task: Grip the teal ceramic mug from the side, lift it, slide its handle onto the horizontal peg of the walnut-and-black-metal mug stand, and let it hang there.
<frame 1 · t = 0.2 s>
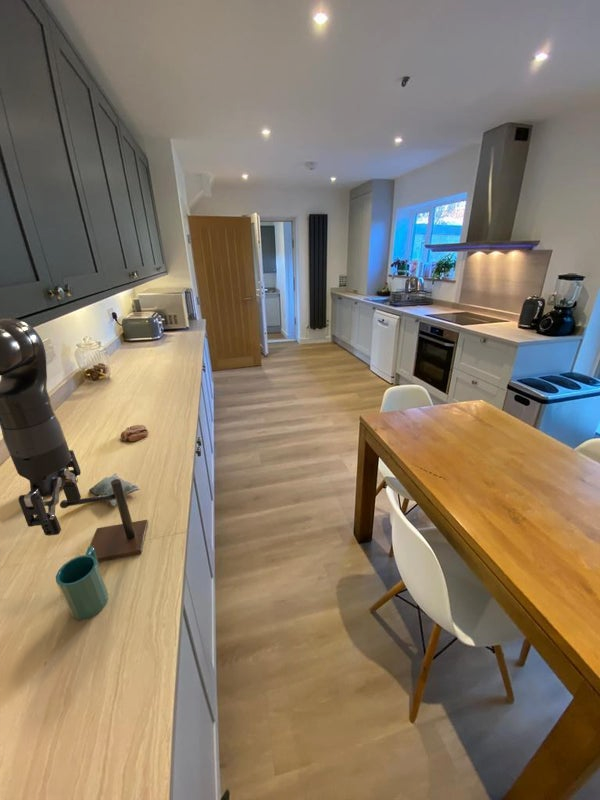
hand: (65, 516, 61), 20 cm above the countertop, tool pointing down, fingers open, 8 cm apart
mug stand: (132, 539, 81), on the countertop
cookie: (135, 435, 127), on the countertop
disposable coffee cup: (54, 494, 96), on the countertop
mug: (90, 603, 66), on the countertop
grey bean bag: (116, 495, 96), on the countertop
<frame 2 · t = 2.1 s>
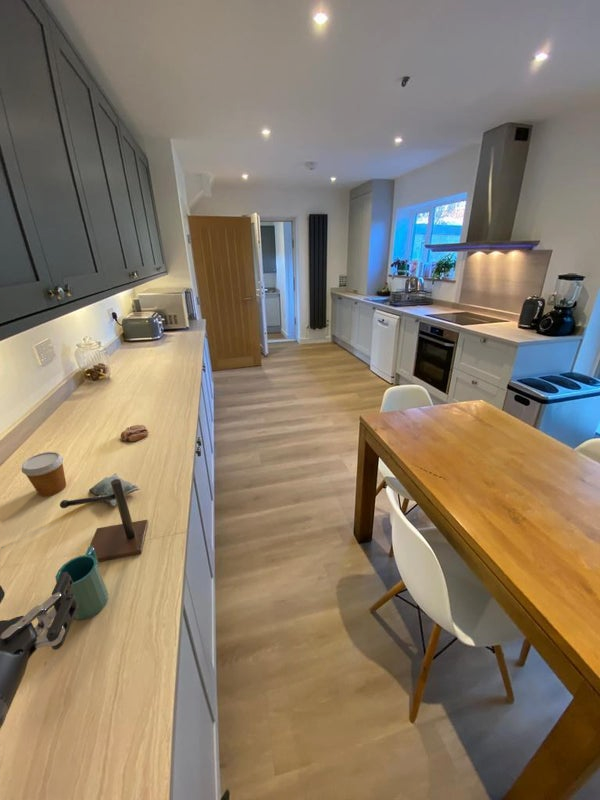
hand: (33, 582, 48), 20 cm above the countertop, tool horizontal, fingers open, 8 cm apart
nothing on the countertop moved.
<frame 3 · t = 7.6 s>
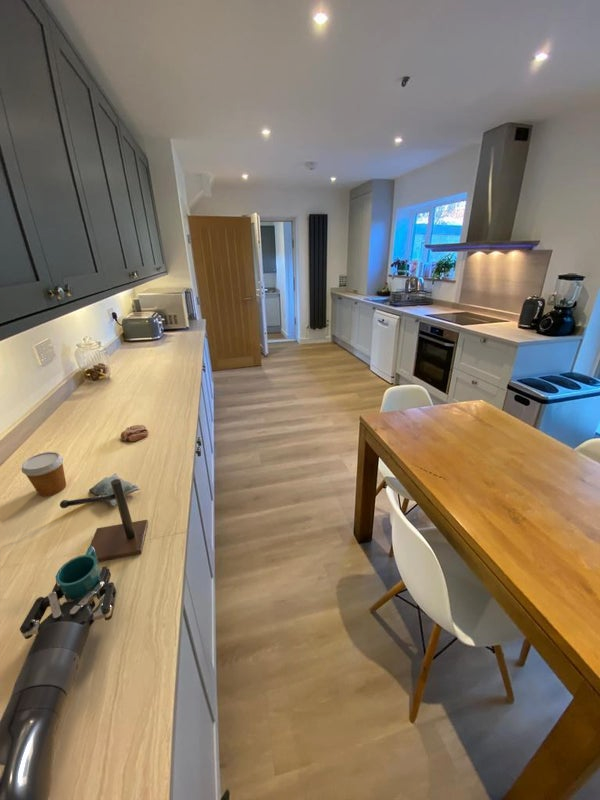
hand: (86, 573, 65), 6 cm above the countertop, tool horizontal, fingers closed on mug, 6 cm apart
mug: (90, 603, 66), on the countertop, touching gripper
everything else where it was.
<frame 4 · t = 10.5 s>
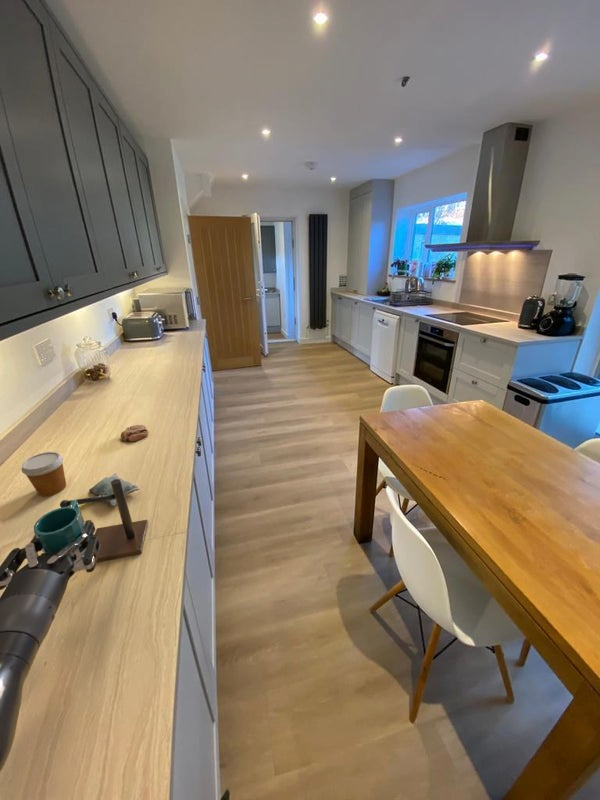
hand: (68, 527, 60), 18 cm above the countertop, tool horizontal, fingers closed on mug, 6 cm apart
mug: (72, 560, 61), point 12 cm above the countertop, touching gripper
everything else where it was.
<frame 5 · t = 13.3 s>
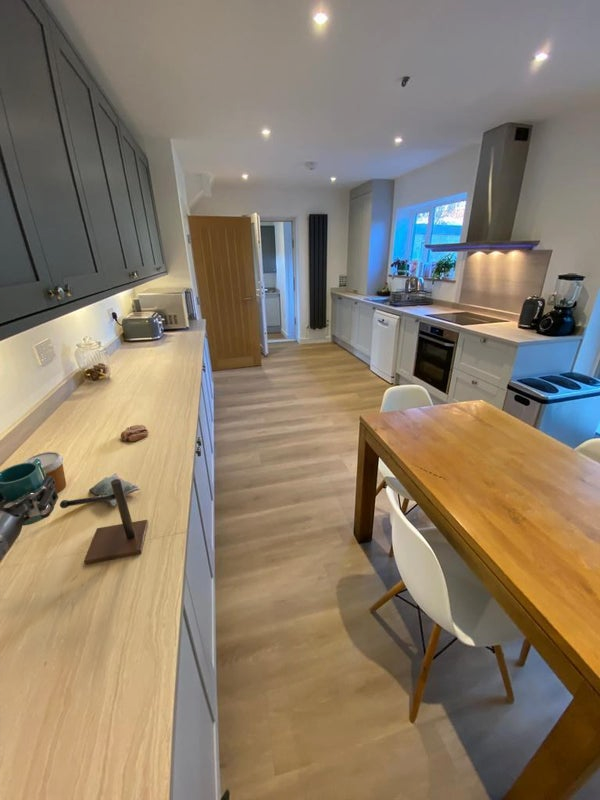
hand: (29, 482, 64), 23 cm above the countertop, tool horizontal, fingers closed on mug, 6 cm apart
mug: (34, 513, 65), point 17 cm above the countertop, touching gripper
everything else where it was.
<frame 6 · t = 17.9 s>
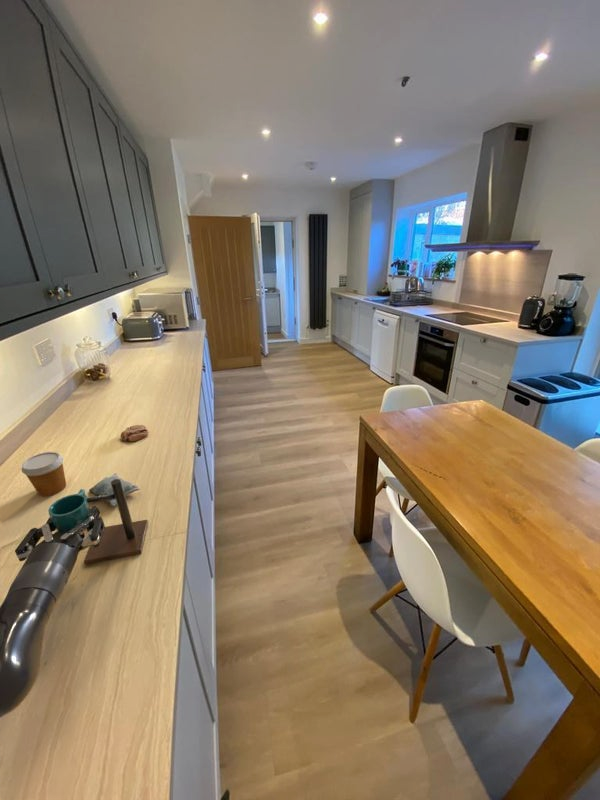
hand: (77, 511, 71), 14 cm above the countertop, tool horizontal, fingers closed on mug, 6 cm apart
mug: (81, 540, 71), point 8 cm above the countertop, touching gripper
everything else where it was.
when the fingers open (13 cm above the countertop, at t = 18.8 s): mug moves 10 cm and tips over, resting on mug stand.
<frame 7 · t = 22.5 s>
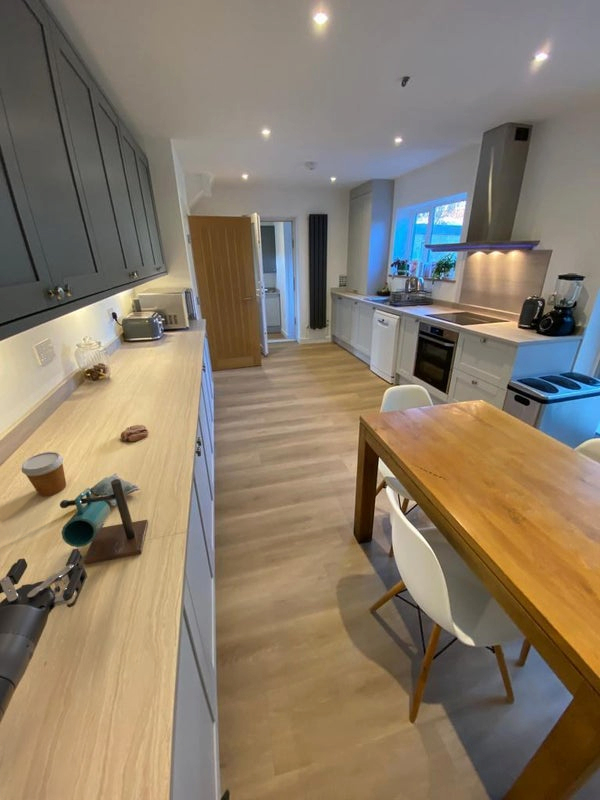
hand: (50, 556, 59), 15 cm above the countertop, tool horizontal, fingers open, 8 cm apart
mug: (95, 511, 80), point 7 cm above the countertop, tilted 73°, touching mug stand
everything else where it was.
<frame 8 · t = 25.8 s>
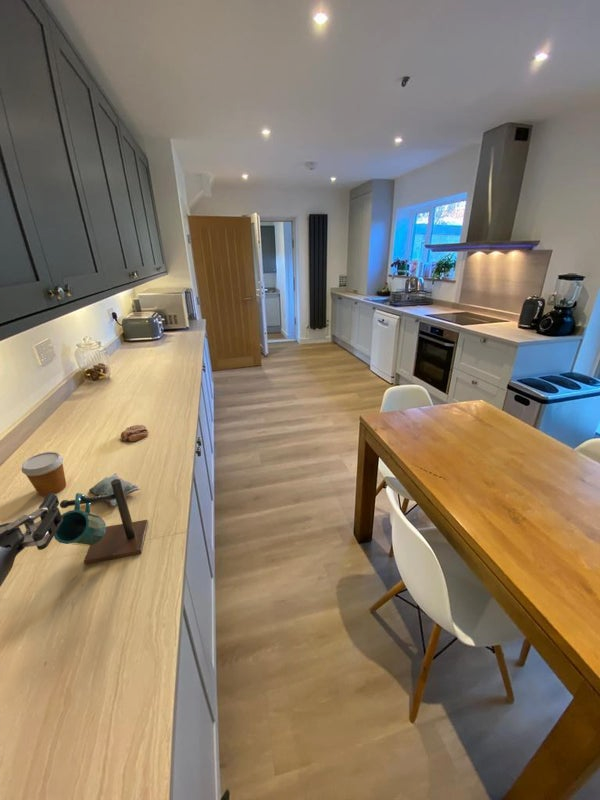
hand: (23, 501, 53), 28 cm above the countertop, tool horizontal, fingers open, 8 cm apart
mug: (90, 530, 76), point 6 cm above the countertop, tilted 40°, touching mug stand
everything else where it was.
at the end: mug point 5.5 cm above the countertop; mug touching mug stand; the gripper is holding nothing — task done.
